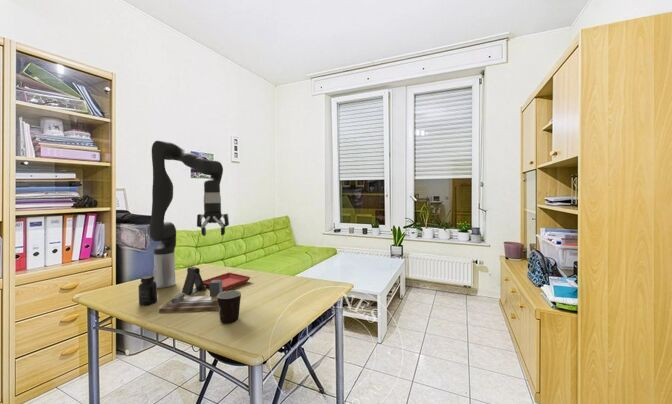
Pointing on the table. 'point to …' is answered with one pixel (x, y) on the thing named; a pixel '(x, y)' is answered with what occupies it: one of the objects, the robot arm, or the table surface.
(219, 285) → the leg
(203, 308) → the slider puzzle board
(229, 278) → the plant saucer
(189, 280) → the phone stand
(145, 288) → the supplement bottle
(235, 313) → the coffee mug
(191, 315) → the table surface
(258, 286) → the table surface
